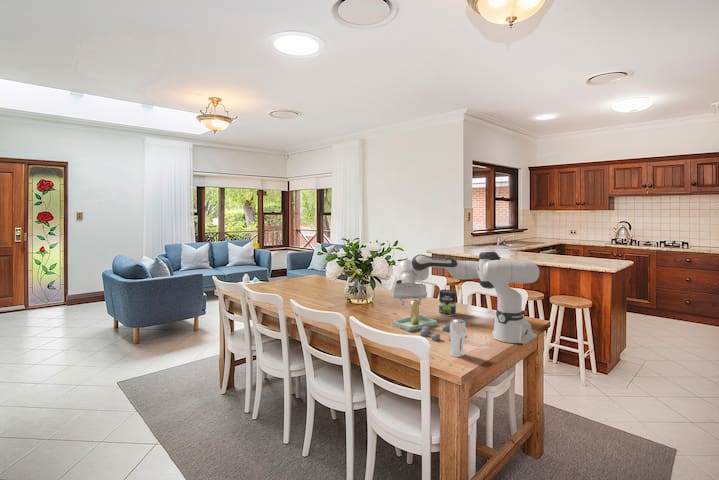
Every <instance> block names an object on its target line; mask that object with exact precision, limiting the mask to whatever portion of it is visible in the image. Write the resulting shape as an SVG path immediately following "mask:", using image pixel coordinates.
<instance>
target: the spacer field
mask: <svg viewBox="0 0 719 480" xmlns="http://www.w3.org/2000/svg"><path fill="white" fill-rule="evenodd" d="M449 328H450V324H442V332H446V333H447V332H448V333H449ZM419 332H420V337H426V338H427V337H429V334H431V327H427V326H424V327H422V329H421V330H419ZM440 334H441V333H440ZM440 334H439V333H437V332H436V333H432V334H431V341H432V342H433V341H434V342H440V341H441V335H440ZM448 337H449V342H450V343H451V341H450V334H449V335H448Z"/></svg>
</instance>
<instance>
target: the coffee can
mask: <svg viewBox="0 0 719 480" xmlns="http://www.w3.org/2000/svg"><path fill="white" fill-rule="evenodd" d="M438 296H439V297H438V315H440V314H441V315H440V316H443V315H444V316H443V317H454V316H453V315H455V316H456V315H457V312H456V311H457V310H456V309H457V308H456V307H457V291H456V290H453V289H439V290H438Z"/></svg>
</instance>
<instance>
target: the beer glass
mask: <svg viewBox="0 0 719 480" xmlns="http://www.w3.org/2000/svg"><path fill="white" fill-rule="evenodd" d="M449 325H450V328H449V332H448V334H449V335H450V341H451V342H450V341H449V342H450V352H449V355H450V356H451V357H455V358H462V357H464V356H465V350H464V345H465V339H466V332H467V329H466V321H465V320H463V319H461V318H460V319H457V318H453V319H450V320H449Z"/></svg>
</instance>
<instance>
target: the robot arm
mask: <svg viewBox="0 0 719 480" xmlns="http://www.w3.org/2000/svg"><path fill="white" fill-rule="evenodd" d="M398 265H399V266H398V275H399V277H400V278H399V279H396V280H395V281H394V283H393V289H392V293H391V295H392V299H393V300H398V301H399V302H400V303H401V306H405V301H404V300H408V299H409V300H418V301H419V306H420V305H421V304H422V303H421V302H422V299H424V300H426V299H427V297H428V291H427V286H426V285H425V284H424V283H416V281H419V282H422V281H426V280H427V279H428V278H429V275H430V274H429V273H430V268H437V269H438V268H442V269H445V270H446V271H448V272H449V274H450V276H451V277H453V278H454V279H456V280H473V279H479V280H477V281H476V282H477V283H478V284H479V285H480V286H481V287H482V288H483V289H487V290H493V289H494V291H495V293H496V296H497V297H496V298H497V299H496V301H497V308H496V312H495V313H496V315H495V316H496V317H495V319H494V323H493V330H492V331H491V335H492V337H493V338H494V339H495V340H496V341H499V342H503V343H508V344H509V343H510V344H525V345H526V344H528V343H529V342H531V341H533V340H535V339H536V338H538V336H537V334H536V333H534V332H532V324H531V323H530V322H528V321H527V320H526V319H525V318H524V316H527V314H528V313H527V311H526V310H523V308H522V307H523V306H522V304H523V298H522V295H521V293H520V292H519V291H517V290H516V289H513V288H512V287H510V286H509V284H530V283H531V284H532V283H535V282H536V281H538V279H539V277H540V268H539V266H538V264H537V263H535V262H533V261H527V260H517V259H515V260H513V259H502V257H501V256H499V254H498V252H495V251H493V250H484V251H482V252H480V253H479V255H478V261H477V260H457V259H455V258H451V257H441V256H429V255H426V254H417V255H414V256H413V257H412V259H411V260H410V259H404V260H402V261H401V262H400V263H399V264H398Z"/></svg>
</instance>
